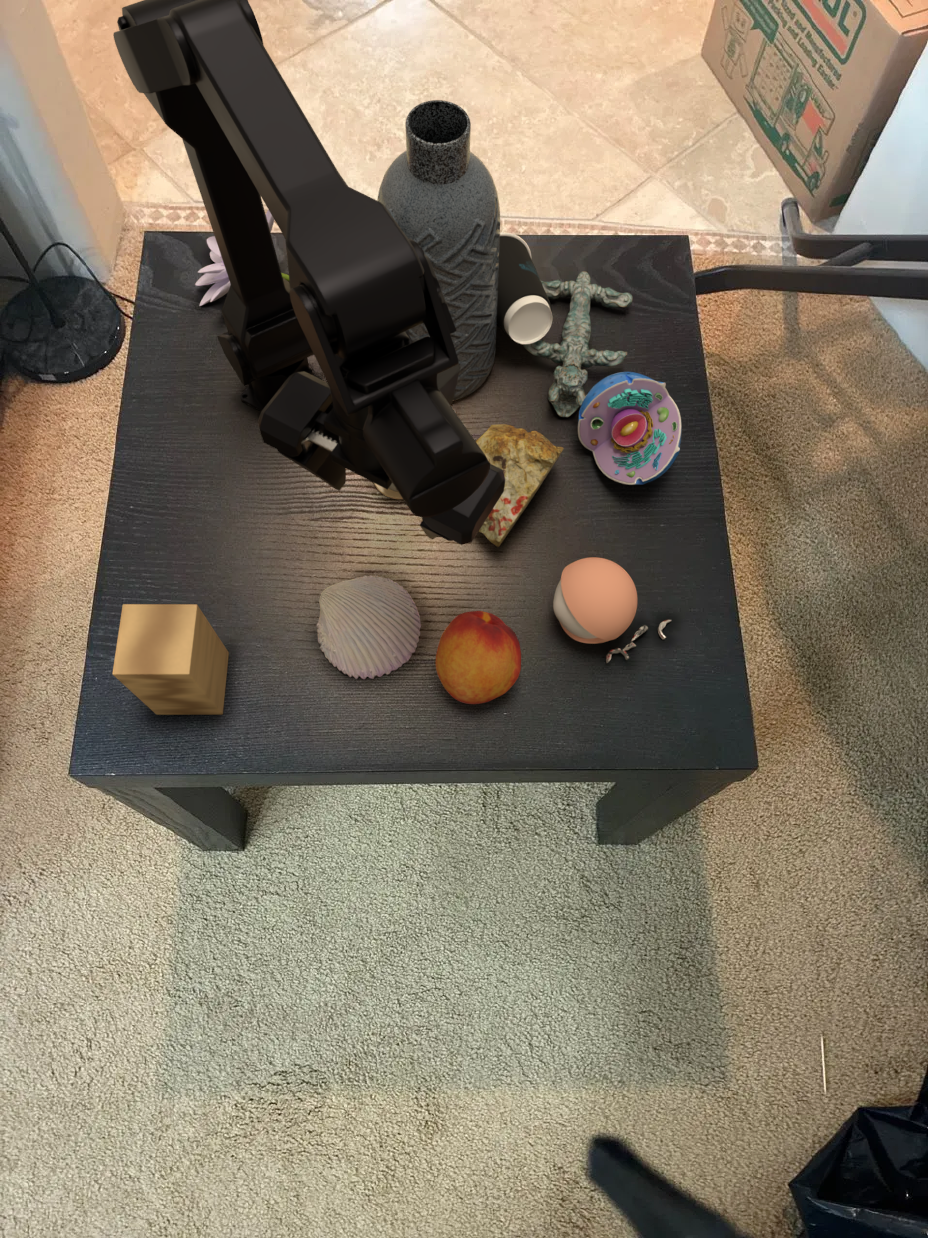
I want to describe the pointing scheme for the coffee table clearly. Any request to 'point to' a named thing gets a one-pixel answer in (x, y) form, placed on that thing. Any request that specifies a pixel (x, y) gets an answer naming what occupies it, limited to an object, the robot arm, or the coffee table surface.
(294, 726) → the coffee table surface
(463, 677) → the fruit
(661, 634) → the toy
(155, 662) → the stand
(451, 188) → the vase
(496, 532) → the rock
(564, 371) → the sculpture
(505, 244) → the dixie cup
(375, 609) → the seashell
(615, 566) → the toy ball
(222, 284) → the water lily
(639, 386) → the cell model
